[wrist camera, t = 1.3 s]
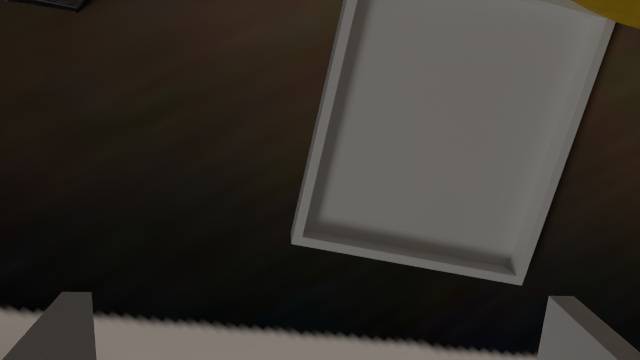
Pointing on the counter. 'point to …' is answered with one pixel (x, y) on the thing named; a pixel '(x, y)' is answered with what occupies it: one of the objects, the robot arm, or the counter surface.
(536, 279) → the counter surface
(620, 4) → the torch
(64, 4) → the small box
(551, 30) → the tray
